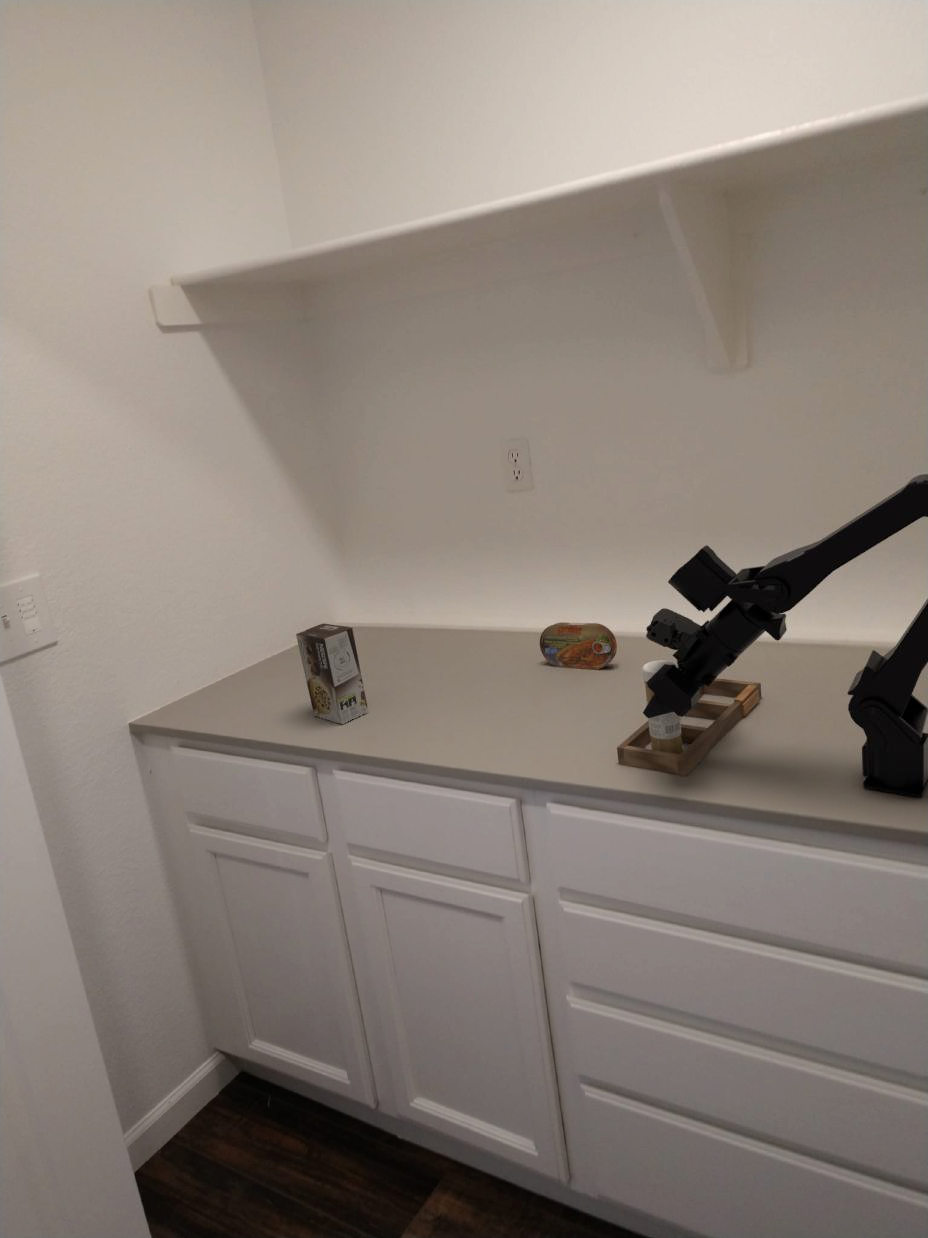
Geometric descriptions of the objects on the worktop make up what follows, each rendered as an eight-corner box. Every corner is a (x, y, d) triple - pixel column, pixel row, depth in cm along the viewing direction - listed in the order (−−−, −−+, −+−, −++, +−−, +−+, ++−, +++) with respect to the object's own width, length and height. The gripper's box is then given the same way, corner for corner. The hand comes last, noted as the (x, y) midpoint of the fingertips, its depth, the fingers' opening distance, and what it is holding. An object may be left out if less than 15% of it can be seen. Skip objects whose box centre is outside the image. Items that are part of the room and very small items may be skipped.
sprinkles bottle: (678, 745, 122) (670, 657, 118) (688, 758, 118) (680, 667, 114) (647, 750, 122) (638, 662, 118) (655, 764, 117) (647, 673, 114)
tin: (541, 666, 163) (536, 624, 160) (549, 660, 165) (543, 619, 163) (614, 671, 154) (609, 627, 152) (621, 665, 157) (616, 621, 154)
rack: (764, 698, 133) (763, 681, 132) (688, 776, 113) (686, 757, 112) (700, 690, 140) (699, 674, 139) (618, 763, 119) (616, 745, 118)
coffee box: (370, 712, 153) (354, 627, 148) (341, 725, 148) (324, 638, 144) (340, 703, 159) (323, 621, 155) (312, 716, 155) (294, 632, 151)
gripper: (703, 573, 118) (635, 644, 127) (655, 614, 104) (583, 691, 113) (764, 628, 116) (691, 697, 125) (724, 678, 101) (645, 751, 111)
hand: (653, 706), depth 119 cm, fingers open, 6 cm apart
